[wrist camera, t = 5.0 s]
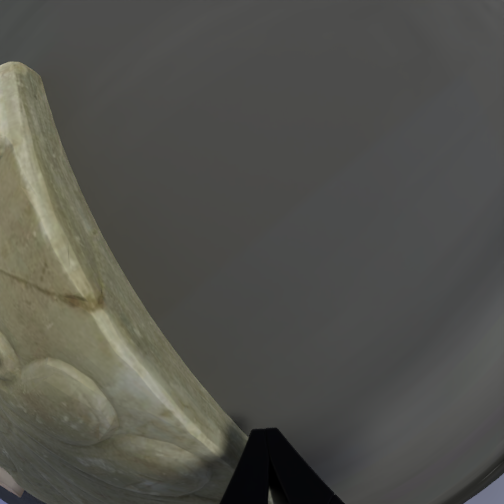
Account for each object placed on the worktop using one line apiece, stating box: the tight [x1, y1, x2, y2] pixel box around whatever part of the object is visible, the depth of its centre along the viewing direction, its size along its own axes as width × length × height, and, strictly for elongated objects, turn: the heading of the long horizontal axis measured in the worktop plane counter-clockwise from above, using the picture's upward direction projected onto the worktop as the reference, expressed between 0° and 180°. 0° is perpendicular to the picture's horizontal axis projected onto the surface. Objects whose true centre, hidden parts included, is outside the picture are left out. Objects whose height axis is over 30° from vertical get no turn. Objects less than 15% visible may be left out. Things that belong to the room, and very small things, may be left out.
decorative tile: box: [0, 62, 273, 504], centre depth 7 cm, size 19×20×4 cm
